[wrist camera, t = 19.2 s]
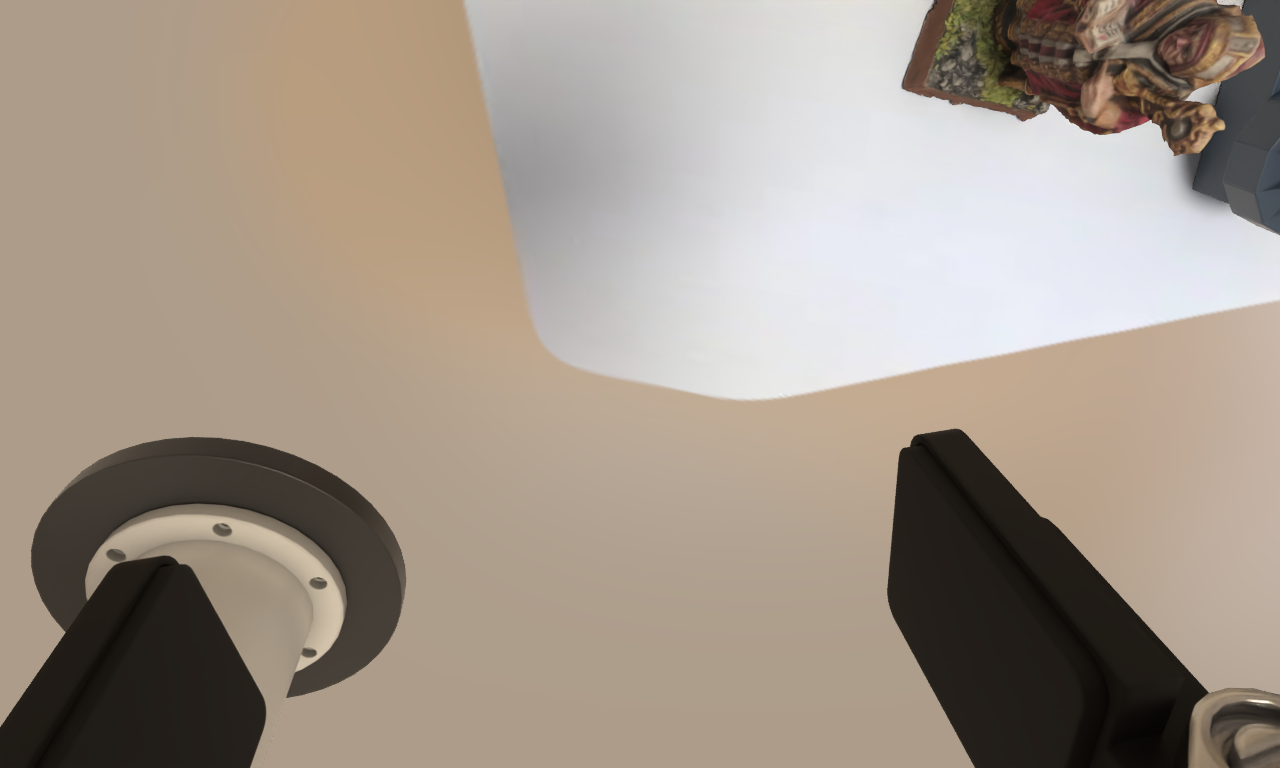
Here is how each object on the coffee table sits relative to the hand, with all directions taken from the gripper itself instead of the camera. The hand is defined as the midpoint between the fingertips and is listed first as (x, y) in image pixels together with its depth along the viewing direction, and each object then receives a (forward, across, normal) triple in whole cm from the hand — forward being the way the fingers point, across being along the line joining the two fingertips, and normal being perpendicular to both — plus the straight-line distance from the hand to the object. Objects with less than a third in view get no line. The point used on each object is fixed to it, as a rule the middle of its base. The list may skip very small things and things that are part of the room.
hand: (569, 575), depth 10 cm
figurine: (+25, -19, -3) cm, 31 cm away
